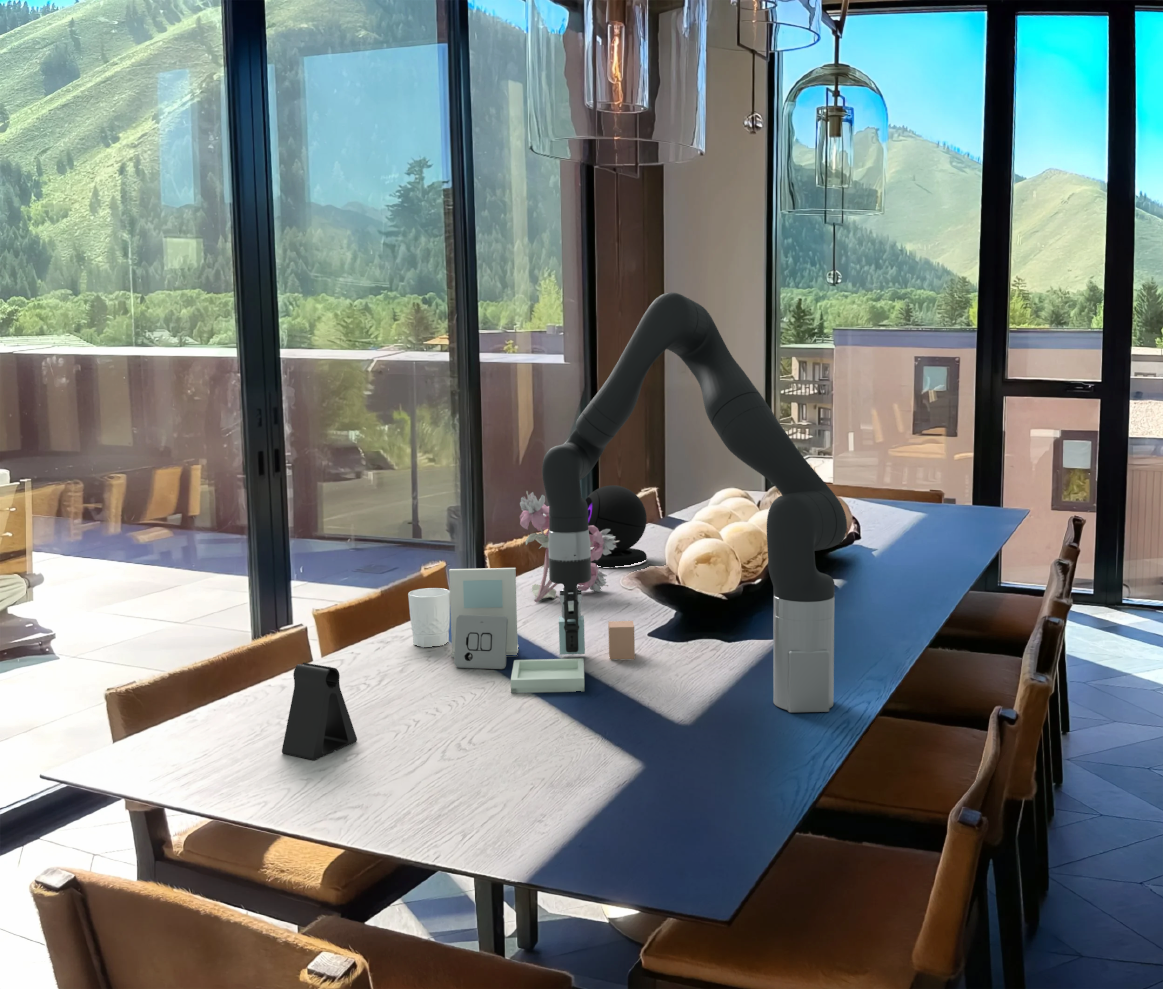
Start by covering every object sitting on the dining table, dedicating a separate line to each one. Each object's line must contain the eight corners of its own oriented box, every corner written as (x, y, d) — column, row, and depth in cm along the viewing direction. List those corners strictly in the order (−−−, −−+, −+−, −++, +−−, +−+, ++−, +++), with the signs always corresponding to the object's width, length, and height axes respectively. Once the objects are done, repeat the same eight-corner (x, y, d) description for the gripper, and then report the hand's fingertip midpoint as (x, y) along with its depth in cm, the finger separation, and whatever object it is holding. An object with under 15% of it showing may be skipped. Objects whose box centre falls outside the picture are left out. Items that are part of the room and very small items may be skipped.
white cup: (401, 646, 220) (399, 594, 219) (426, 636, 227) (424, 586, 226) (436, 650, 216) (434, 598, 215) (459, 640, 223) (458, 589, 222)
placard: (517, 656, 211) (515, 569, 209) (451, 657, 211) (448, 571, 209) (518, 648, 216) (516, 564, 214) (454, 650, 216) (451, 566, 214)
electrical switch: (453, 668, 204) (453, 616, 204) (462, 663, 209) (462, 612, 209) (504, 671, 202) (504, 618, 202) (512, 665, 207) (512, 614, 207)
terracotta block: (634, 659, 208) (634, 626, 207) (609, 660, 208) (609, 627, 207) (633, 653, 212) (633, 620, 211) (608, 653, 212) (608, 621, 211)
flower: (605, 604, 245) (620, 492, 252) (501, 592, 248) (519, 482, 255) (612, 624, 264) (627, 519, 271) (516, 612, 267) (533, 509, 274)
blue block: (584, 654, 207) (584, 621, 206) (559, 654, 207) (558, 621, 206) (584, 647, 212) (583, 615, 211) (559, 648, 212) (558, 616, 211)
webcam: (572, 558, 306) (571, 483, 303) (633, 554, 311) (632, 480, 308) (593, 570, 289) (591, 491, 287) (656, 565, 294) (656, 487, 292)
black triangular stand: (326, 735, 170) (322, 655, 169) (357, 741, 167) (353, 660, 166) (281, 754, 163) (277, 671, 161) (312, 761, 160) (308, 676, 158)
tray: (584, 691, 189) (584, 678, 189) (511, 693, 189) (510, 679, 189) (583, 670, 201) (583, 658, 201) (514, 672, 201) (514, 660, 201)
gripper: (591, 561, 200) (593, 658, 202) (589, 547, 214) (592, 638, 216) (548, 562, 200) (550, 659, 202) (549, 548, 214) (551, 639, 216)
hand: (572, 647), depth 209 cm, fingers closed on blue block, 4 cm apart
